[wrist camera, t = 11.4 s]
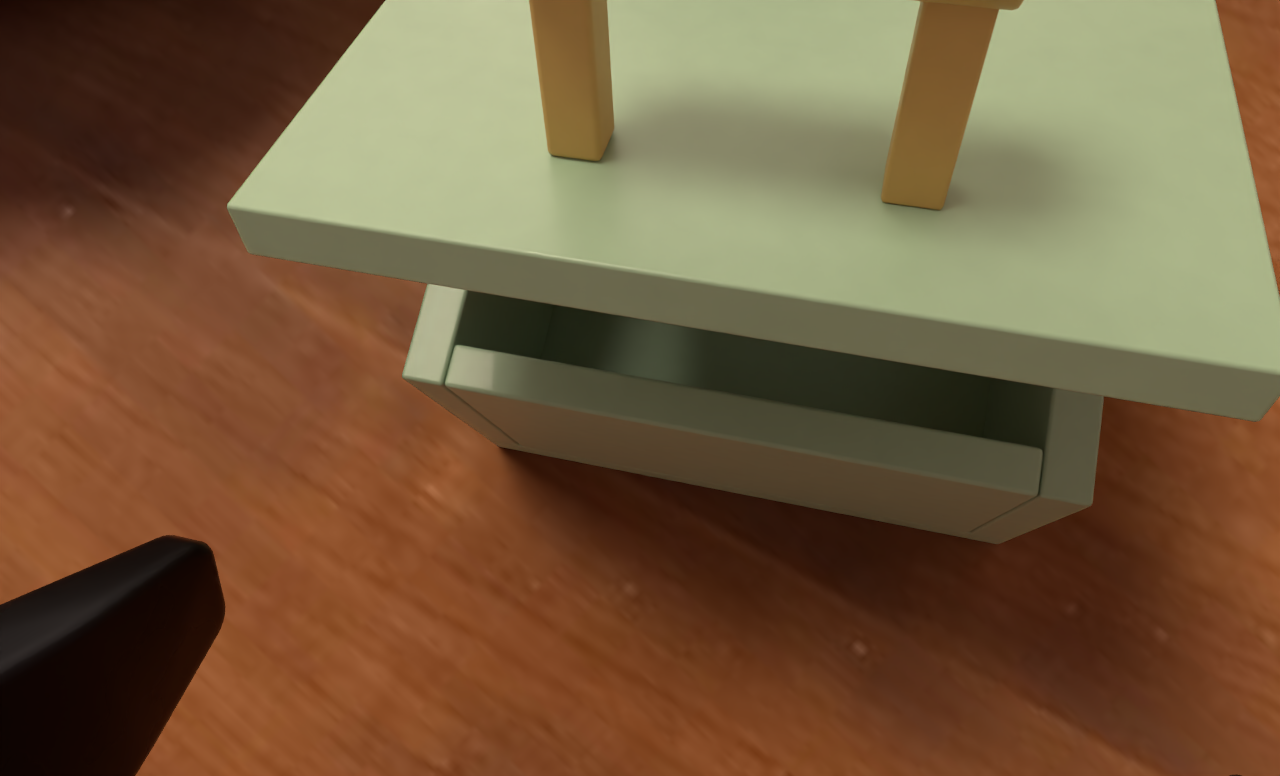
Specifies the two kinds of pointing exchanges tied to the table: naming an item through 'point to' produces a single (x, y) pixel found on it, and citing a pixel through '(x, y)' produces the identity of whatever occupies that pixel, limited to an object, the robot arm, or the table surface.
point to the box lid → (811, 179)
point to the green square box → (760, 415)
